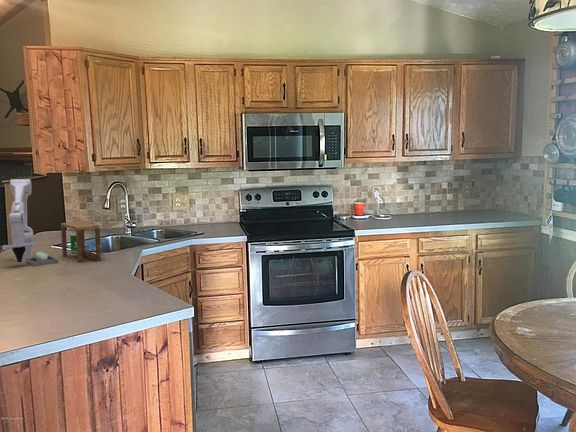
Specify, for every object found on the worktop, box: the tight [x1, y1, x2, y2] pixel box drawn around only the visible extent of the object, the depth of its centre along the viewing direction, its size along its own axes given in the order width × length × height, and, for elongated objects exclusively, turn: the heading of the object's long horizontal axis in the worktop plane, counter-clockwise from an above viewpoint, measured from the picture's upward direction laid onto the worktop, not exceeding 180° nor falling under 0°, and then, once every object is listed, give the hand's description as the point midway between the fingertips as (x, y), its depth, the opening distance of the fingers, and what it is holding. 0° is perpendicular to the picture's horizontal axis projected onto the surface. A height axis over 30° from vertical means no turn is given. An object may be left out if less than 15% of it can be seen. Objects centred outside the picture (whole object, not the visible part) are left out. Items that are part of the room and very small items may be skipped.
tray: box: [25, 255, 59, 267], centre depth 268 cm, size 12×12×3 cm
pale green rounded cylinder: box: [35, 251, 44, 262], centre depth 270 cm, size 4×4×5 cm
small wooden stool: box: [60, 221, 102, 263], centre depth 280 cm, size 22×12×19 cm, turn 45°
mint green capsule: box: [40, 253, 49, 261], centre depth 266 cm, size 4×4×5 cm
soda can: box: [69, 231, 77, 254], centre depth 298 cm, size 8×8×12 cm
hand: (19, 262), depth 260 cm, fingers closed
